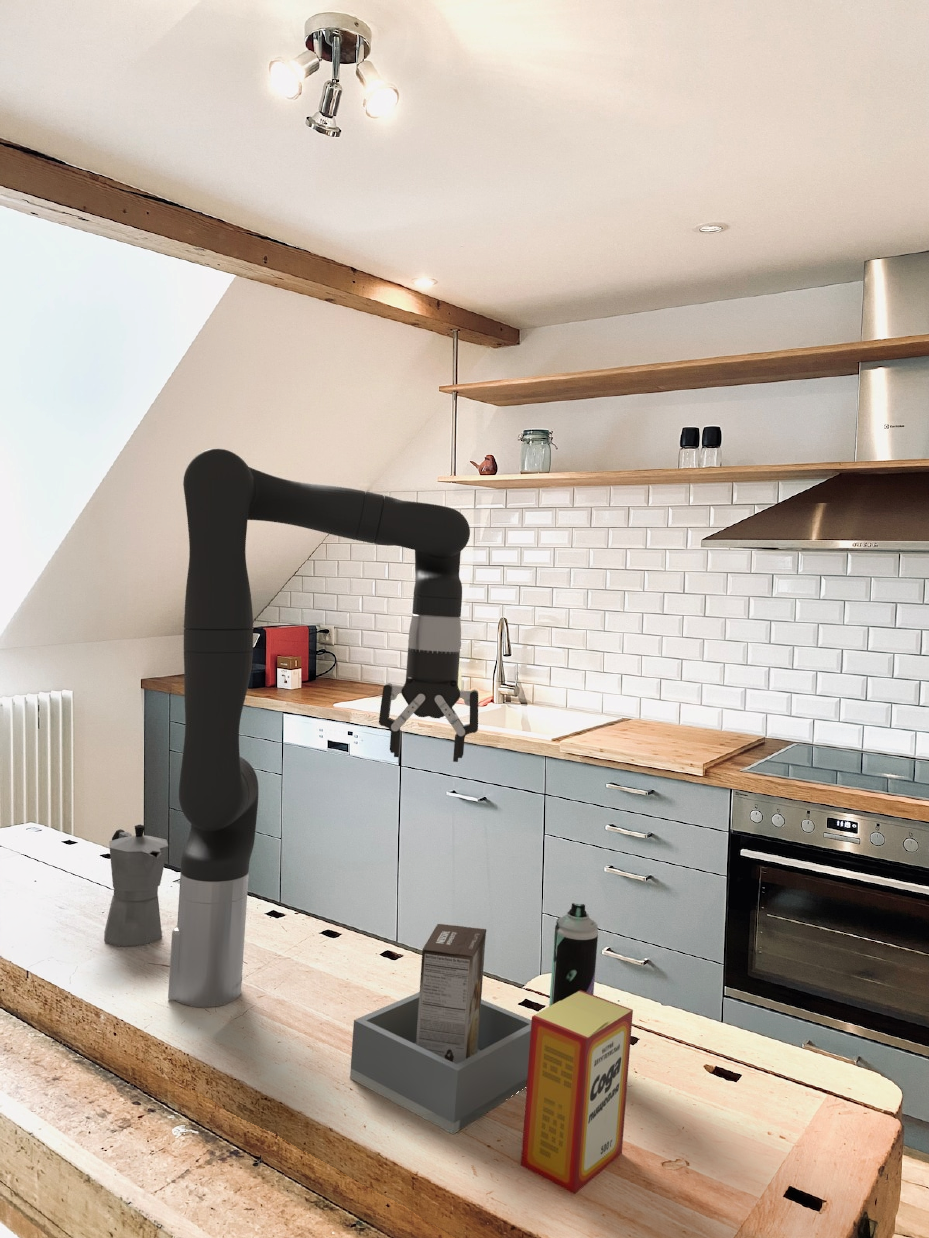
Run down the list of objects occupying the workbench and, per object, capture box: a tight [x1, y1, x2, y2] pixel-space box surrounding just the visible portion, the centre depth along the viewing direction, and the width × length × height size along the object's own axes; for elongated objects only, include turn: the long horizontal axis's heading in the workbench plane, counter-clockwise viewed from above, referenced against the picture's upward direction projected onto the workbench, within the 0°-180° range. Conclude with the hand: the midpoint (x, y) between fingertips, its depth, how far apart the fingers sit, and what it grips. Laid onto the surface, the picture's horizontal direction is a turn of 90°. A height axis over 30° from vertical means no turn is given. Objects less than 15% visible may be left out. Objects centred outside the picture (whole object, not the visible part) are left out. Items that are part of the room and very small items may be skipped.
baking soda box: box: [520, 990, 634, 1195], centre depth 99 cm, size 10×6×16 cm
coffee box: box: [416, 923, 487, 1064], centre depth 113 cm, size 9×6×16 cm
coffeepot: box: [104, 824, 169, 948], centre depth 151 cm, size 15×9×18 cm, turn 44°
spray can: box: [548, 902, 599, 1007], centre depth 121 cm, size 6×6×20 cm
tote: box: [349, 991, 532, 1135], centre depth 113 cm, size 16×16×7 cm
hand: (426, 758), depth 137 cm, fingers open, 8 cm apart
